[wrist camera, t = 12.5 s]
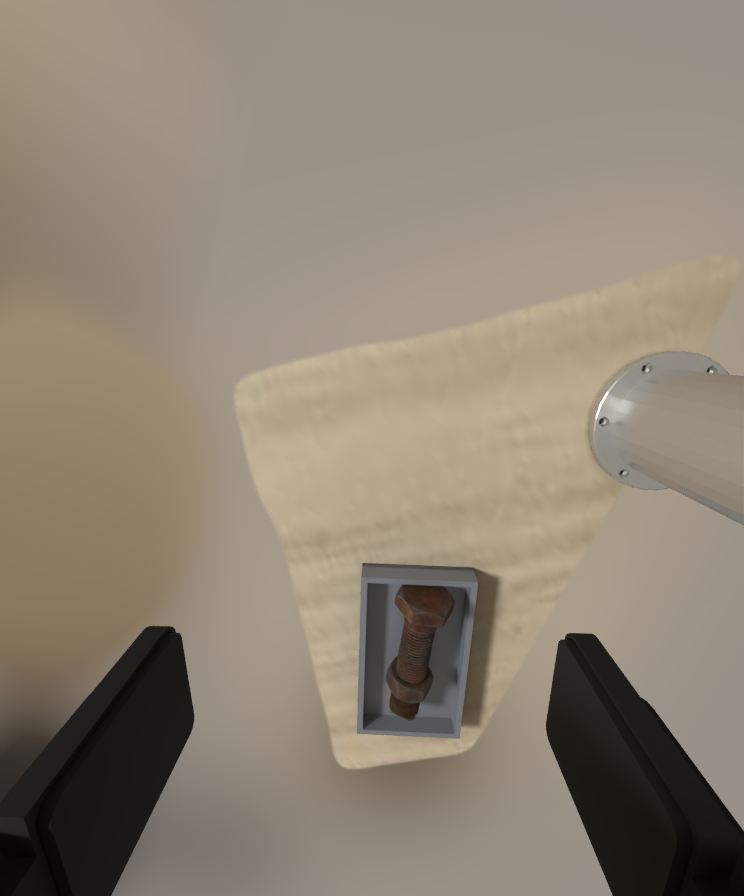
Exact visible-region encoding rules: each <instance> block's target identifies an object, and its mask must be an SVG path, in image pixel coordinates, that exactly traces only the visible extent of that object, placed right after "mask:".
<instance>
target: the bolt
mask: <svg viewBox="0 0 744 896" xmlns="http://www.w3.org/2000/svg"><path fill="white" fill-rule="evenodd" d="M394 604H395V605H396V606H397V608H398V609H399V610H400V611H401V613H402V614H403V615H404V626H403V631H402V636H401V642H400V647H399V652H398V656H396V657H395V658H394V660H393V661H392V662H391V664H390V666H389V668H388V669H387V672H386V678H385V679H386V682H387V684H388V686H389V688H390V690H391V696H390V701H389V702H390V704H389V707H390V710H391V712H392V713H393V714H395V715H397V716H399V717H401V718H404V719H406V720H408V721H411V720H413V719H415V718H416V717H415V716H416V715H417V714H418V710H419V706H420V702H423V701H424V699H425V698H426V696H427V694H428V692H429V690H430V688H431V686H432V682H433V678H434V676H433V674H432V672H431V670H430V668H429V666H428V664H429V659H430V655H431V650H432V644H433V641H434V637H435V632H436V629H437V628H443V626H444V625H445V623H446V621H447V620H448V618H449V617H450V615H451V613H452V612H453V609H454V604H455V601H454V599H453V597H452V595H451V594H450V593H449V591H448V590H447V589H446V588H445V587H443V586H428V585H404V584H403V585H402V586H401V587H400V588H399V590H398V592H397V593H396V597H395V602H394Z"/></svg>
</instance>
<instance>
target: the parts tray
mask: <svg viewBox="0 0 744 896" xmlns="http://www.w3.org/2000/svg"><path fill="white" fill-rule="evenodd" d="M403 584H404V585H428V586H443V587H445V588H446V589H447V590H448V591H449V593H450V594H451V595H452V597H453V599H454V601H455V604H454V609H453V612H452V613H451V615H450V617H449V618H448V620H447V621H446V623H445V625H444V626H443V628H437V629H436V632H435V637H434V641H433V644H432V650H431V655H430V659H429V664H428V666H429V668H430V670H431V672H432V674H433V676H434V678H433V682H432V686H431V688H430V690H429V692H428V694H427V696H426V698H425V699H424V701H423V702H420V706H419V710H418V714H417V715H416V716H415V717H416V718H415V719H413V720H411V721H408V720H406V719H404V718H401V717H399V716H397V715H395V714H393V713H392V712H391V710H390V707H389V704H390V702H389V701H390V696H391V690H390V688H389V686H388V684H387V682H386V679H385V678H386V672H387V669H388V668H389V666H390V664H391V662H392V661H393V660H394V658H395V657H396V656H398V652H399V647H400V642H401V636H402V631H403V626H404V615H403V614H402V613H401V611H400V610H399V609H398V608H397V606H396V605H395V604H394V602H395V597H396V593H397V592H398V590H399V588H400V587H401V586H402V585H403ZM477 590H478V580H477V578H476V575H475V573H474V570H473V568H467V567H443V566H419V565H394V564H370V563H363V566H362V578H361V614H360V649H359V685H358V720H357V734H374V735H395V736H416V737H437V738H458V739H459V738H460V730H461V721H462V713H463V705H464V697H465V688H466V680H467V672H468V664H469V656H470V647H471V639H472V631H473V623H474V614H475V606H476V598H477Z"/></svg>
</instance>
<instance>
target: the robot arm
mask: <svg viewBox="0 0 744 896" xmlns="http://www.w3.org/2000/svg"><path fill="white" fill-rule="evenodd" d="M642 367H643V369H642ZM600 419H601V421H600ZM599 421H600V422H599ZM589 440H590V446H591V449H592V452H593V454H594V457H595V459H596V460H597V462H598V463H599V465H600V466H601V468H602V469H603V470H605V471H606V472H607V473H608V474H609V475H610V476H612V477H613V478H615V479H616V480H618V481H620V482H622V483H624V484H626V485H628V486H631V487H635V488H639V489H644V490H659V489H667V488H671V489H673V490H675V491H677V492H679V493H681V494H683V495H685V496H687V497H689V498H691V499H693V500H695V501H697V502H699V503H701V504H703V505H705V506H707V507H708V508H710V509H712V510H714V511H716V512H718V513H720V514H722V515H724V516H726V517H728V518H730V519H732V520H734V521H736V522H738V523H740V524H742V525H744V376H736V375H730V374H729V373H728V372H727V371H726V370H725V369H724V368H723V367H722V366H721V365H720V364H718V363H717V362H715V361H714V360H712V359H711V358H709V357H706V356H703V355H700V354H698V353H692V352H684V351H667V352H661V353H655V354H652V355H649V356H646V357H643V358H640V359H639V360H637V361H635V362H633V363H631V364H629V365H628V366H626V367H625V368H624V369H622V370H621V371H620V372H619V373H617V374H616V375H615V376H614V377H613V378H612V379H611V380H610V381H609V383H608V384H607V385H606V386H605V387H604V389H603V390H602V392H601V393H600V395H599V396H598V398H597V401H596V403H595V405H594V407H593V410H592V413H591V418H590V422H589ZM193 723H194V711H193V705H192V699H191V692H190V687H189V680H188V675H187V668H186V662H185V655H184V649H183V643H182V637H181V635H180V633H176V631H175V629H174V628H173V627H169V626H165V627H164V626H149V627H147V628H145V629H144V630H143V631H142V633H141V634H140V635H139V636H138V637H137V639H136V640H135V641H134V642H133V643H132V645H131V646H130V647H129V648H128V649H127V651H126V652H125V653H124V654H123V655H122V657H121V658H120V659H119V661H118V662H117V663H116V664H115V665H114V666H113V668H112V669H111V670H110V671H109V672H108V674H107V675H106V676H105V677H104V679H103V680H102V681H101V682H100V683H99V685H98V686H97V687H96V688H95V689H94V691H93V692H92V693H91V694H90V695H89V696H88V697H87V698H86V699H85V701H84V702H83V703H82V704H81V705H80V707H79V708H78V709H77V710H76V711H75V713H74V714H73V715H72V716H71V717H70V719H69V720H68V721H67V722H66V723H65V725H64V726H63V727H62V728H61V729H60V731H59V732H58V733H57V734H56V735H55V737H54V738H53V739H52V741H50V743H49V744H48V745H47V746H46V747H45V749H44V750H43V751H42V752H41V754H40V755H39V756H38V757H37V758H36V760H35V761H34V762H33V763H32V764H31V766H30V767H29V768H28V769H27V771H26V772H25V773H24V774H23V775H22V776H21V778H20V779H19V780H18V781H17V782H16V784H15V785H14V786H13V787H12V789H11V790H10V791H9V792H8V793H7V795H6V796H5V797H4V798H3V799H2V800H1V802H0V896H111V895H112V892H113V891H114V889H115V887H116V885H117V882H118V880H119V878H120V876H121V874H122V872H123V870H124V868H125V866H126V864H127V862H128V860H129V858H130V856H131V854H132V852H133V850H134V848H135V846H136V844H137V842H138V840H139V838H140V836H141V834H142V831H143V829H144V827H145V825H146V823H147V821H148V819H149V817H150V815H151V813H152V811H153V809H154V807H155V805H156V803H157V801H158V799H159V797H160V795H161V793H162V791H163V788H164V786H165V785H166V783H167V780H168V778H169V776H170V774H171V772H172V770H173V768H174V766H175V764H176V762H177V760H178V758H179V756H180V754H181V752H182V750H183V748H184V746H185V744H186V742H187V739H188V738H189V735H190V733H191V731H192V728H193ZM546 731H547V736H548V740H549V743H550V745H551V748H552V750H553V752H554V755H555V757H556V760H557V762H558V764H559V767H560V769H561V772H562V774H563V777H564V779H565V781H566V784H567V786H568V789H569V791H570V793H571V796H572V798H573V801H574V803H575V805H576V808H577V810H578V813H579V815H580V817H581V820H582V822H583V825H584V827H585V829H586V832H587V834H588V837H589V839H590V842H591V844H592V846H593V848H594V851H595V854H596V856H597V858H598V861H599V863H600V866H601V868H602V870H603V873H604V875H605V878H606V880H607V882H608V885H609V887H610V890H611V892H612V894H613V896H744V831H743V830H742V828H741V827H740V826H739V824H738V823H737V821H736V820H735V819H734V817H733V816H732V815H731V813H730V812H729V811H728V809H727V808H726V807H725V805H724V804H723V803H722V801H721V800H720V799H719V797H718V796H717V794H716V793H715V792H714V790H713V789H712V788H711V786H710V785H709V783H708V782H707V781H706V779H705V778H704V777H703V775H702V774H701V773H700V771H699V770H698V769H697V767H696V766H695V764H694V763H693V762H692V760H691V759H690V758H689V757H688V755H687V754H686V752H685V751H684V750H683V748H682V747H681V745H680V744H679V743H678V742H677V740H676V739H675V738H674V736H673V735H672V733H671V732H670V731H669V729H668V728H667V726H666V725H665V724H664V722H663V721H662V720H661V718H660V717H659V716H658V714H657V713H656V712H655V710H654V709H653V708H652V707H651V706H650V704H649V703H648V702H647V701H645V700H644V699H642V698H641V697H640V696H639V695H638V693H637V692H636V691H635V689H634V688H633V686H632V685H631V684H630V682H629V681H628V680H627V678H626V677H625V676H624V674H623V673H622V671H621V670H620V669H619V667H618V666H617V664H616V663H615V662H614V660H613V659H612V658H611V656H610V655H609V653H608V652H607V651H606V649H605V648H604V646H603V645H602V644H601V642H600V641H599V640H598V638H597V637H596V636H595V635H593V634H580V633H578V634H577V633H569V634H567V635H566V636H565V640H560V641H559V643H558V649H557V655H556V662H555V669H554V675H553V682H552V688H551V695H550V701H549V709H548V714H547V721H546Z"/></svg>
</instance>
